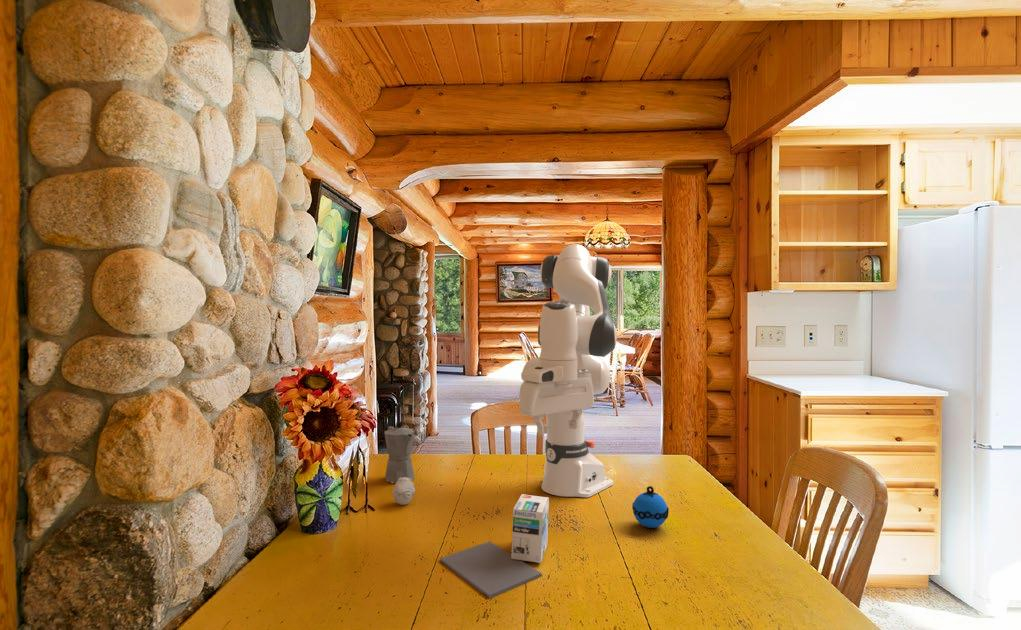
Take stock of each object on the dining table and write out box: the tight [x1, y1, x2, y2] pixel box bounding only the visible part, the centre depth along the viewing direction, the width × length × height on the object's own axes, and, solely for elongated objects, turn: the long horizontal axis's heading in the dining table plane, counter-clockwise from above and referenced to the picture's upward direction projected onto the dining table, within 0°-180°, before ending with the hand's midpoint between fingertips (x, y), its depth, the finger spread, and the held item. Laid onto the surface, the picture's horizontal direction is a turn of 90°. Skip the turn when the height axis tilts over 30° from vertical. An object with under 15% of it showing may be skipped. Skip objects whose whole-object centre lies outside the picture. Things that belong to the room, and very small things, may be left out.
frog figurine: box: [392, 477, 416, 506], centre depth 145 cm, size 6×7×7 cm
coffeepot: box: [383, 421, 415, 483], centre depth 166 cm, size 15×9×18 cm, turn 44°
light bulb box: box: [510, 493, 550, 564], centre depth 117 cm, size 11×7×11 cm, turn 169°
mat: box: [439, 540, 543, 599], centre depth 110 cm, size 13×18×1 cm
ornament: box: [631, 485, 670, 529], centre depth 130 cm, size 9×9×10 cm
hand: (558, 431), depth 123 cm, fingers open, 8 cm apart
